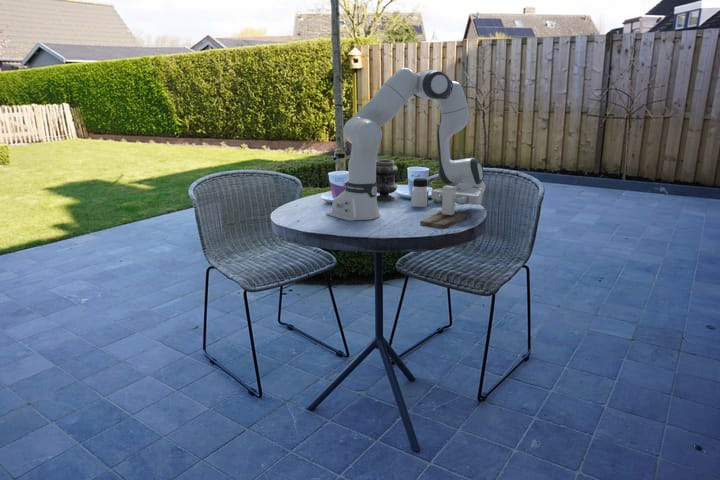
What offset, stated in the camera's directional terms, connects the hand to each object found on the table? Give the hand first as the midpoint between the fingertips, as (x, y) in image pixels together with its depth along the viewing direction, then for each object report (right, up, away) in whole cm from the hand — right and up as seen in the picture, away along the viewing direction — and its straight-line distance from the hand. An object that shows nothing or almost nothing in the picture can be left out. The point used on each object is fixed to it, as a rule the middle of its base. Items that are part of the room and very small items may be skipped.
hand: (447, 199), depth 195 cm
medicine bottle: (-8, 0, +26) cm, 28 cm away
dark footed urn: (-23, +3, +39) cm, 45 cm away
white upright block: (+1, -5, +2) cm, 6 cm away
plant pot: (+2, +2, +34) cm, 34 cm away
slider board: (-2, -8, 0) cm, 9 cm away
